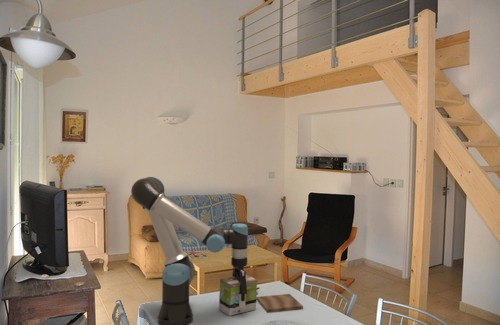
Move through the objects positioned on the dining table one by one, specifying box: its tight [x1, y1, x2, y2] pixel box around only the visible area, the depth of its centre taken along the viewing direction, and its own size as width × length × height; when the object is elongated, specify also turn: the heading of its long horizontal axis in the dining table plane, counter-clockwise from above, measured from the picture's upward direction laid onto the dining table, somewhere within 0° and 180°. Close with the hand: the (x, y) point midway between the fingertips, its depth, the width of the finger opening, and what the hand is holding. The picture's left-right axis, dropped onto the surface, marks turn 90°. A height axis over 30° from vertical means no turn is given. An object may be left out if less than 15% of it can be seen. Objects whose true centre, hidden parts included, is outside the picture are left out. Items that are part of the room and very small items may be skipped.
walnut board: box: [256, 293, 304, 314], centre depth 197 cm, size 18×17×2 cm
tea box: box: [218, 274, 258, 317], centre depth 189 cm, size 15×10×15 cm, turn 126°
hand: (238, 302), depth 190 cm, fingers closed on tea box, 11 cm apart
